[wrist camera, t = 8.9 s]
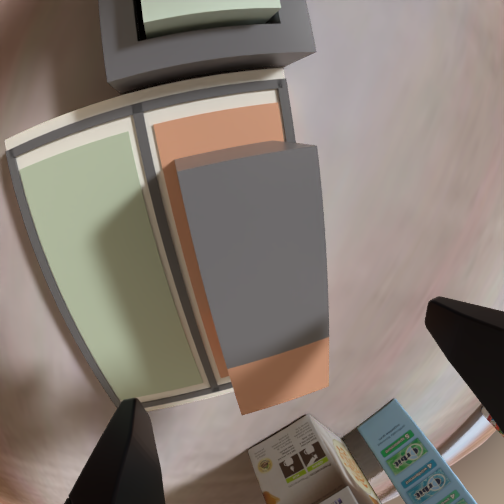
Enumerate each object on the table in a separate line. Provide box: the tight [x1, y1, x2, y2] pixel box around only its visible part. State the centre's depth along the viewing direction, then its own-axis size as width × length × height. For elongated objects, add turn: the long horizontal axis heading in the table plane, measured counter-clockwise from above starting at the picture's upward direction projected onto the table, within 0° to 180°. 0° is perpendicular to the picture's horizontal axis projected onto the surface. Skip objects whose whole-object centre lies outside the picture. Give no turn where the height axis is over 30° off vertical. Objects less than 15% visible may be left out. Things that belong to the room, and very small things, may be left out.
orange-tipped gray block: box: [174, 140, 329, 415], centre depth 12 cm, size 4×10×4 cm, turn 10°
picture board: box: [5, 68, 296, 412], centre depth 14 cm, size 12×16×1 cm
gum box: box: [357, 399, 477, 504], centre depth 19 cm, size 20×5×23 cm, turn 38°
